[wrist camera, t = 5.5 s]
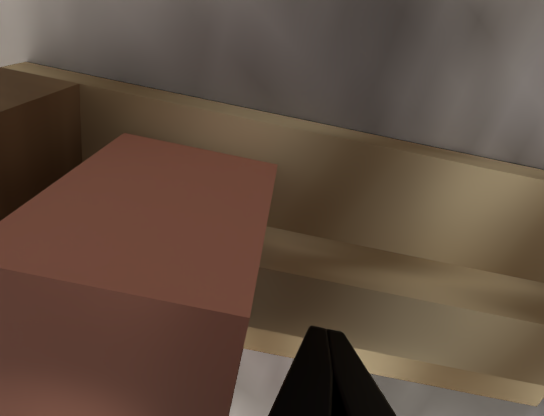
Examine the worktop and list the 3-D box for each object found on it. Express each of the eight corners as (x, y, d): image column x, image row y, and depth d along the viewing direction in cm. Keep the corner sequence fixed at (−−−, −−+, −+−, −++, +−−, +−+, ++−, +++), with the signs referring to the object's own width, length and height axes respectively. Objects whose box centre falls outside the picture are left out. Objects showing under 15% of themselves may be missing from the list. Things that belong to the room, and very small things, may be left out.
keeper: (277, 164, 10) (249, 317, 5) (241, 337, 13) (201, 542, 8) (124, 132, 10) (-52, 257, 5) (121, 313, 13) (7, 504, 8)
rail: (658, 194, 11) (1092, 431, 5) (523, 382, 15) (676, 653, 9) (25, 61, 11) (-345, 140, 5) (47, 287, 15) (-143, 497, 8)
